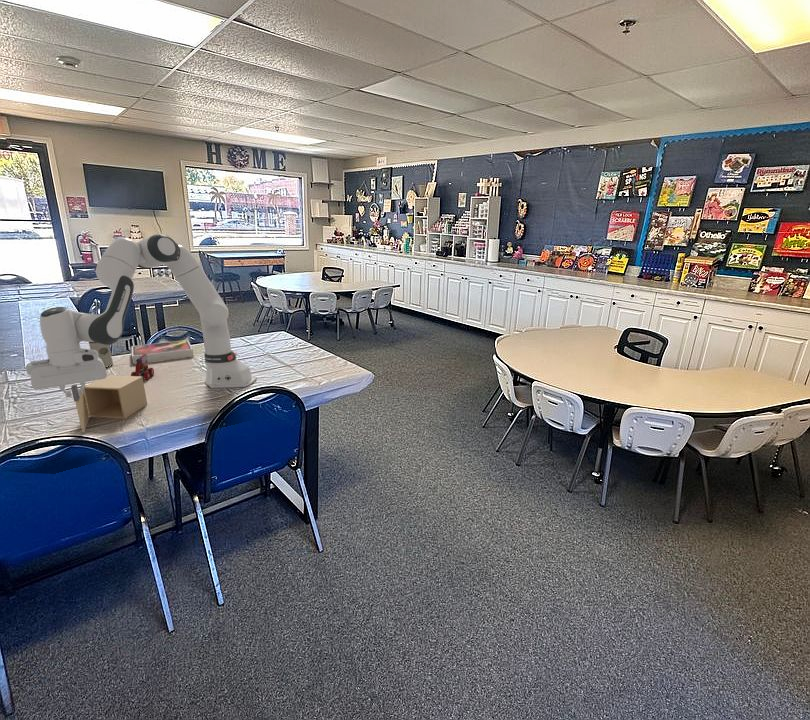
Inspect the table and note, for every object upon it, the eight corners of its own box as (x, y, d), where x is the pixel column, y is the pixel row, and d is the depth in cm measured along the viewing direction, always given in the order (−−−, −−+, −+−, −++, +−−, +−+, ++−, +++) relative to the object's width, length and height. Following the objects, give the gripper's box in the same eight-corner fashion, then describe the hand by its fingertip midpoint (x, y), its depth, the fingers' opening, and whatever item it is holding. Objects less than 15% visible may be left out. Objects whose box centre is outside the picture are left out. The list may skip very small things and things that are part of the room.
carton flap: (85, 432, 147) (75, 387, 142) (81, 432, 146) (70, 388, 141) (90, 416, 158) (80, 374, 153) (86, 417, 158) (76, 375, 153)
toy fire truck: (129, 383, 193) (125, 361, 190) (140, 374, 204) (136, 353, 201) (146, 382, 194) (142, 360, 191) (156, 373, 206) (152, 353, 203)
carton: (147, 404, 171) (142, 376, 167) (125, 418, 158) (119, 388, 155) (114, 403, 171) (108, 375, 168) (89, 416, 159) (82, 387, 155)
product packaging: (133, 354, 235) (131, 346, 233) (189, 348, 249) (188, 339, 248) (133, 365, 217) (131, 356, 216) (193, 357, 232) (192, 349, 230)
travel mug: (93, 365, 214) (85, 331, 209) (111, 362, 219) (105, 329, 214) (95, 369, 209) (87, 334, 203) (114, 366, 214) (107, 332, 208)
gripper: (23, 365, 131) (34, 405, 136) (102, 354, 143) (111, 392, 147) (25, 359, 136) (36, 399, 141) (101, 349, 148) (109, 386, 152)
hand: (75, 395), depth 144 cm, fingers closed
